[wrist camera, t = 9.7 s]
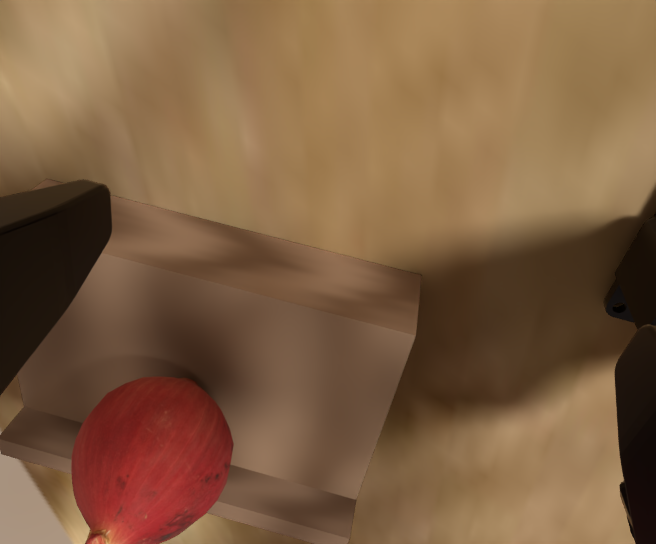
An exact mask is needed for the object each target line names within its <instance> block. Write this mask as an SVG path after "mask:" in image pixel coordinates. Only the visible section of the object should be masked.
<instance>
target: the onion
mask: <svg viewBox="0 0 656 544" xmlns="http://www.w3.org/2000/svg"><path fill="white" fill-rule="evenodd" d="M233 446H234V443H233V439H232V435H231V431H230V427H229V425H228V423H227V421H226V419H225V417H224V415H223V413H222V411H221V409H220V408H219V406H218V405H217V403H216V402H215V401H214V400H213V399H212V398H211V397H210V396H209V395H208V394H207V393H206V392H205V391H204V390H203V389H202V388H201V387H200V386H199V385H198V384H197V382H195V381H194V380H191V379H188V378H175V377H160V376H156V377H142V378H139V379H137V380H134V381H131V382H128V383H125V384H123V385H121V386H120V387H118V388H116V389H114V390H112V391H110V392H108V393H107V394H106V395H105V396H104V398H103V399H102V400H101V401H100V402H99V403H98V404H97V406H96V407H95V408H94V409H93V410H92V412H91V413H90V414H89V415H88V417H87V418H86V419H85V421H84V422H83V424H82V426H81V428H80V431H79V433H78V435H77V437H76V440H75V444H74V448H73V452H72V462H71V472H72V484H73V491H74V496H75V499H76V503H77V506H78V508H79V509H80V511H81V513H82V515H83V517H84V519H85V521H86V523H87V524H88V526H89V527H90V529H91V530H90V532H89V535H88V538H87V541H86V543H85V544H159V543H162V542H164V541H167V540H169V539H171V538H173V537H175V536H177V535H179V534H180V533H181V532H183V531H184V530H185V529H186V528H188V527H189V526H190V525H192V524H193V523H194V522H195V521H197V520H198V519H199V518H201V517H202V516H203V515H204V514H206V513H207V511H208V510H209V509H210V508H211V507H212V506H213V505H214V504H215V503H216V501H217V500H218V498H219V496H220V494H221V493H222V491H223V489H224V487H225V485H226V483H227V478H228V473H229V468H230V464H231V458H232V452H233Z"/></svg>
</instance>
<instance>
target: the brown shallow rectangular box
mask: <svg viewBox="0 0 656 544" xmlns="http://www.w3.org/2000/svg"><path fill="white" fill-rule="evenodd" d="M59 184H64V183H61V182H57V181H53V180H49V179H46V180H45V181H43V182H42V183H40V184H39V185H37V186H36V187H35V188H33V189H32V190H36V189H41V188H45V187H50V186H54V185H59ZM30 191H31V190H30ZM111 211H112V233H111V237H110V240H109V241H108V243H107V245H106V247H105V248H104V250H103V252H102V253H101V255H100V257H99V258H98V260H97V262H96V263H95V265H94V267H93V268H92V270H91V272H90V273H89V275H88V277H87V278H86V280H85V282H84V283H83V285H82V287H81V288H80V290H79V292H78V293H77V295H76V297H75V298H74V300H73V301H72V303H71V304H70V306H69V307H68V309H67V310H66V311H65V313H64V314H63V315H62V317H61V318H60V319H59V321H58V322H57V323H56V325H55V326H54V327H53V328H52V330H51V331H50V332H49V334H48V335H47V336H46V337H45V339H44V340H43V341H42V343H41V344H40V345H39V346H38V348H37V349H36V350H35V352H34V353H33V354H32V355H31V357H30V358H29V359H28V361H27V362H26V363H25V364H24V366H23V367H22V368H21V370H20V371H19V372H18V373H17V375H18V380H19V385H20V389H21V394H22V399H23V404H24V407H23V409H22V410H21V411H20V412H19V413H18V414H17V416H16V417H15V418H14V419H13V420H12V422H11V423H10V424H9V425H8V426H7V428H6V429H5V430H4V431H3V432H2V434H1V435H0V450H1V454H3V455H6V456H10V457H13V458H17V459H20V460H24V461H27V462H31V463H34V464H38V465H41V466H45V467H48V468H52V469H55V470H59V471H62V472H66V473H69V474H72V472H71V462H72V452H73V448H74V444H75V440H76V437H77V435H78V433H79V431H80V428H81V426H82V424H83V422H84V421H85V419H86V418H87V417H88V415H89V414H90V413H91V412H92V410H93V409H94V408H95V407H96V406H97V404H98V403H99V402H100V401H101V400H102V399H103V398H104V396H105V395H106V394H107V393H108V392H110V391H112V390H114V389H116V388H118V387H120V386H121V385H123V384H125V383H128V382H131V381H134V380H137V379H139V378H142V377H156V376H160V377H175V378H188V379H191V380H194V381H195V382H197V384H198V385H199V386H200V387H201V388H202V389H203V390H204V391H205V392H206V393H207V394H208V395H209V396H210V397H211V398H212V399H213V400H214V401H215V402H216V403H217V405H218V406H219V408H220V409H221V411H222V413H223V415H224V417H225V419H226V421H227V423H228V425H229V427H230V431H231V435H232V439H233V443H234V446H233V452H232V458H231V464H230V468H229V473H228V478H227V483H226V485H225V487H224V489H223V491H222V493H221V494H220V496H219V498H218V500H217V501H216V503H215V504H214V505H213V506H212V507H211V508H210V509H209V510H208V511H207V513H209V514H212V515H216V516H219V517H223V518H226V519H230V520H233V521H237V522H240V523H244V524H247V525H251V526H254V527H258V528H261V529H265V530H268V531H272V532H275V533H279V534H282V535H286V536H289V537H293V538H296V539H300V540H303V541H306V542H310V543H313V544H348V542H349V540H350V535H351V529H352V523H353V517H354V511H355V505H356V499H357V497H358V494H359V491H360V488H361V486H362V483H363V480H364V477H365V475H366V472H367V469H368V466H369V464H370V461H371V458H372V455H373V453H374V450H375V447H376V444H377V442H378V439H379V436H380V433H381V431H382V428H383V425H384V422H385V419H386V417H387V414H388V411H389V408H390V406H391V403H392V400H393V397H394V395H395V392H396V389H397V386H398V384H399V381H400V378H401V375H402V373H403V370H404V367H405V364H406V362H407V359H408V356H409V353H410V351H411V348H412V345H413V342H414V340H415V337H416V330H417V319H418V309H419V298H420V288H421V277H422V275H418V274H414V273H411V272H407V271H403V270H399V269H395V268H391V267H387V266H383V265H379V264H376V263H372V262H368V261H364V260H360V259H356V258H352V257H348V256H345V255H341V254H337V253H333V252H329V251H325V250H321V249H317V248H313V247H310V246H306V245H302V244H298V243H294V242H290V241H286V240H282V239H279V238H275V237H271V236H267V235H263V234H259V233H255V232H251V231H247V230H244V229H240V228H236V227H232V226H228V225H224V224H220V223H216V222H213V221H209V220H205V219H201V218H197V217H193V216H189V215H185V214H181V213H178V212H174V211H170V210H166V209H162V208H158V207H154V206H150V205H147V204H143V203H139V202H135V201H131V200H127V199H123V198H119V197H115V196H112V195H111Z"/></svg>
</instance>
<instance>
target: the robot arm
mask: <svg viewBox="0 0 656 544" xmlns="http://www.w3.org/2000/svg"><path fill="white" fill-rule="evenodd" d="M111 233H112V211H111V195H110V191H109V188H108V187H107V186H106V185H104V184H101V183H97V182H93V181H89V180H77V181H73V182H68V183H64V184H59V185H54V186H50V187H45V188H41V189H36V190H31V191H27V192H22V193H18V194H13V195H8V196H4V197H0V395H1V394H2V393H3V391H4V390H5V389H6V388H7V386H8V385H9V384H10V382H11V381H12V380H13V379H14V377H15V376H16V375H17V373H18V372H19V371H20V370H21V368H22V367H23V366H24V364H25V363H26V362H27V361H28V359H29V358H30V357H31V355H32V354H33V353H34V352H35V350H36V349H37V348H38V346H39V345H40V344H41V343H42V341H43V340H44V339H45V337H46V336H47V335H48V334H49V332H50V331H51V330H52V328H53V327H54V326H55V325H56V323H57V322H58V321H59V319H60V318H61V317H62V315H63V314H64V313H65V311H66V310H67V309H68V307H69V306H70V304H71V303H72V301H73V300H74V298H75V297H76V295H77V293H78V292H79V290H80V288H81V287H82V285H83V283H84V282H85V280H86V278H87V277H88V275H89V273H90V272H91V270H92V268H93V267H94V265H95V263H96V262H97V260H98V258H99V257H100V255H101V253H102V252H103V250H104V248H105V247H106V245H107V243H108V241H109V240H110V237H111ZM615 276H616V278H617V279H616V281H615V283H614V284H613V286H612V288H611V289H610V291H609V293H608V294H607V296H606V298H605V300H604V306H605V309H606V312H607V313H608V314H609V315H610V316H612V317H615V318H619V319H622V320H626V321H630V322H634V323H635V325H636V327H637V330H638V331H637V332H636V334H635V335H634V337H633V338H632V340H631V341H630V343H629V344H628V346H627V347H626V349H625V350H624V352H623V353H622V355H621V356H620V358H619V359H618V361H617V364H616V367H615V389H616V406H617V423H618V440H619V451H620V459H621V466H622V472H623V477H624V481H623V482H621V484H620V497H621V500H622V502H623V505H624V508H625V511H626V514H627V519H628V523H629V526H630V531H631V534H632V536H633V538H634V540H635V543H636V544H656V214H655V216H654V217H652V218H650V219H649V220H647V221H646V222H645V223H644V225H643V226H642V228H641V230H640V232H639V233H638V235H637V237H636V238H635V240H634V242H633V243H632V245H631V247H630V248H629V250H628V252H627V254H626V255H625V257H624V259H623V260H622V262H621V264H620V265H619V267H618V269H617V270H616V272H615ZM617 303H624V304H622V305H621V306H619V307H614V305H615V304H617Z"/></svg>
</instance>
